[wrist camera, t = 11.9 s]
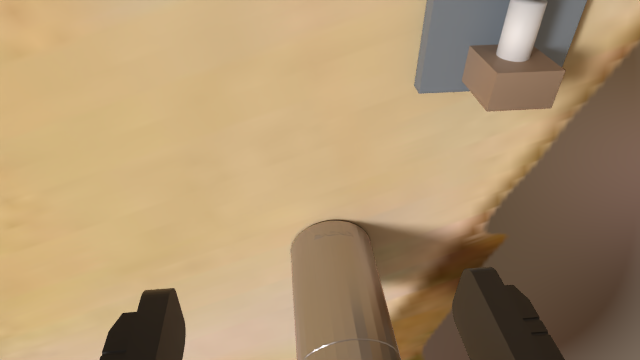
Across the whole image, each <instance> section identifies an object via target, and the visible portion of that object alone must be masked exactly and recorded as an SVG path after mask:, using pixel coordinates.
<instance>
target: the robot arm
mask: <svg viewBox="0 0 640 360" xmlns="http://www.w3.org/2000/svg"><path fill="white" fill-rule="evenodd" d="M291 263H292V285H293V302H294V319H295V336H296V353H297V360H401V358H400V354H399V351H398V347H397V343H396V339H395V335H394V331H393V327H392V324H391V320H390V316H389V312H388V308H387V304H386V301H385V297H384V293H383V289H382V285H381V281H380V277H379V274H378V270H377V265H376V262H375V258H374V254H373V250H372V246H371V242H370V239H369V237H368V235H367V233H366V232H365V231H364V230H363V229H362V228H360V227H359V226H357V225H355V224H352V223H350V222H345V221H326V222H321V223H318V224H314V225H312V226H310V227H308V228H306V229H305V230H304V231H302V232H301V233H300V234H299V235H298V236H297V237H296V238H295V240H294V242H293V243H292V247H291ZM452 311H453V317H454V321H455V324H456V326H457V329H458V331H459V334H460V336H461V338H462V341H463V343H464V346H465V348H466V351H467V353H468V356H469V358H470V360H565V359H564V358H563V356H562V354H561V353H560V351H559V349H558V348H557V346H556V344H555V343H554V341H553V339H552V338H551V336H550V335H548V331H547V329H546V327H545V326H544V324H543V322H542V321H540V320H539V315H538V314H537V312H536V310H535V309H534V307H533V306H532V304H531V302H530V300H529V299H528V298H527V297H526V296H525V295H523V294H522V293H521V292H520V291H519V290H518V289H517V288H516V287H515V286H514V285H506V286H504V284H503V282H502V280H501V278H500V277H499V275H498V273H497V271H496V270H495V269H494V268H492V267H483V268H469V269H464V271H463V272H462V275H461V278H460V281H459V284H458V287H457V290H456V293H455V296H454V299H453V303H452ZM184 346H185V321H184V318H183V314H182V311H181V307H180V304H179V301H178V297H177V294H176V291H175V289H174V288H170V289H156V290H145V291H144V292H143V293H142V296H141V299H140V303H139V306H138V310H137V312H130V313H123V314H122V315H121V316H120V317H119V319H118V320H117V321H116V323H115V324H114V325H113V327H112V328H111V329H110V331H109V332H108V335H107V339H106V342H105V345H104V348H103V351H102V356H101V357H100V360H182V358H183V352H184Z"/></svg>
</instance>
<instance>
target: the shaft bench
mask: <svg viewBox="0 0 640 360" xmlns="http://www.w3.org/2000/svg"><path fill="white" fill-rule="evenodd" d="M586 2H587V0H427V4H426V10H425V17H424V24H423V30H422V37H421V44H420V50H419V57H418V64H417V70H416V77H415V84H414V86H415V88H416V89H417V91H418V93H441V92H463V91H471V93H472V94H473V95H474V96H475V98H476V99H477V100H478V101H479V102H480V104H481V105H482V106H483V107H484V109H485V110H486V111H506V110H526V109H546V108H552V105H553V102H554V100H555V97H556V94H557V92H558V89H559V87H560V84H561V81H562V79H563V76H564V73H565V71H566V70H564V69H563V68H562V66H563V63H564V61H565V58H566V55H567V53H568V50H569V47H570V45H571V42H572V39H573V37H574V34H575V31H576V29H577V26H578V23H579V21H580V18H581V15H582V12H583V10H584V7H585V4H586Z"/></svg>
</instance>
